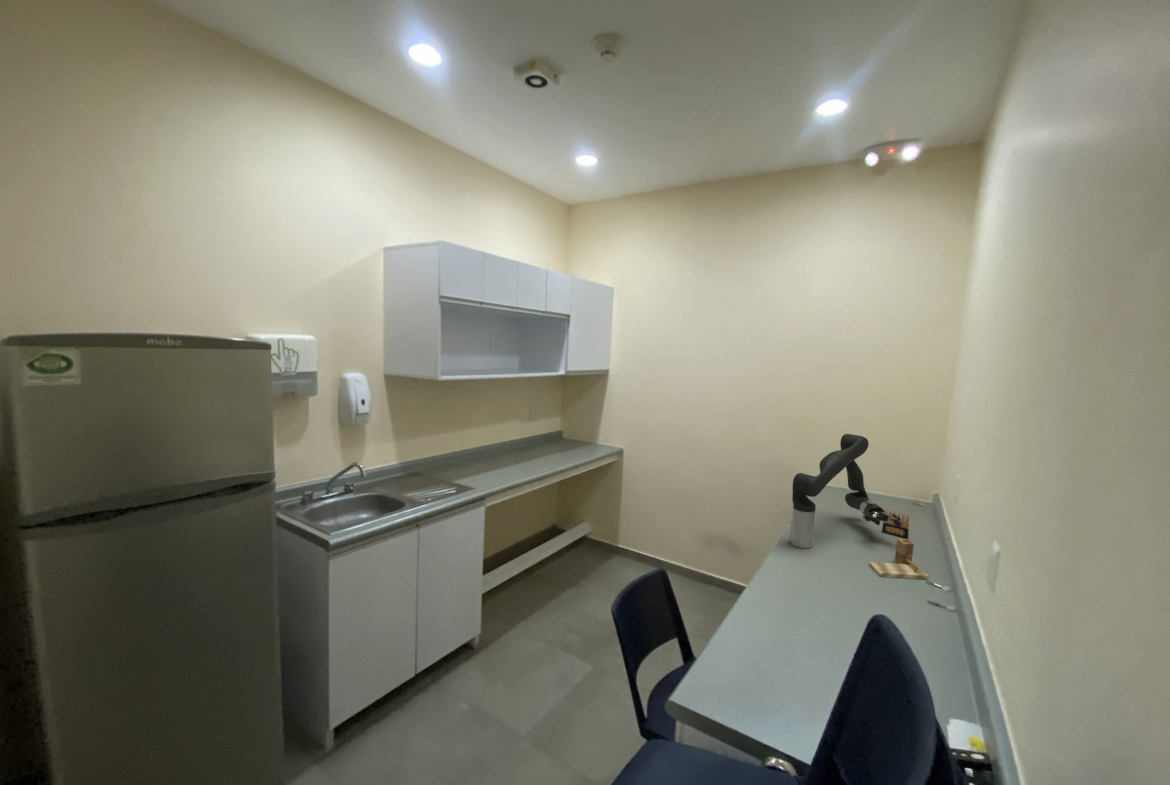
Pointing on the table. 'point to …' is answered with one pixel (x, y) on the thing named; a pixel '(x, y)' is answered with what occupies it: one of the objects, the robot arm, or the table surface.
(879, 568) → the board
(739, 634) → the table surface
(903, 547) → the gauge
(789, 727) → the table surface
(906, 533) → the ammunition clip
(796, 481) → the robot arm
